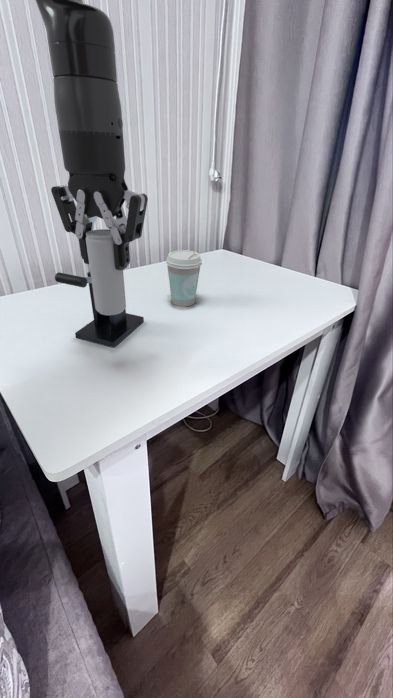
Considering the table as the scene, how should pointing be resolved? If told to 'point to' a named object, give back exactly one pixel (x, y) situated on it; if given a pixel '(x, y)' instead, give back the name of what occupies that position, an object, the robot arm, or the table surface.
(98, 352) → the table surface
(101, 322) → the bracket
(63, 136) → the robot arm
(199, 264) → the coffee cup
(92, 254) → the beverage can
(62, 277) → the lever
